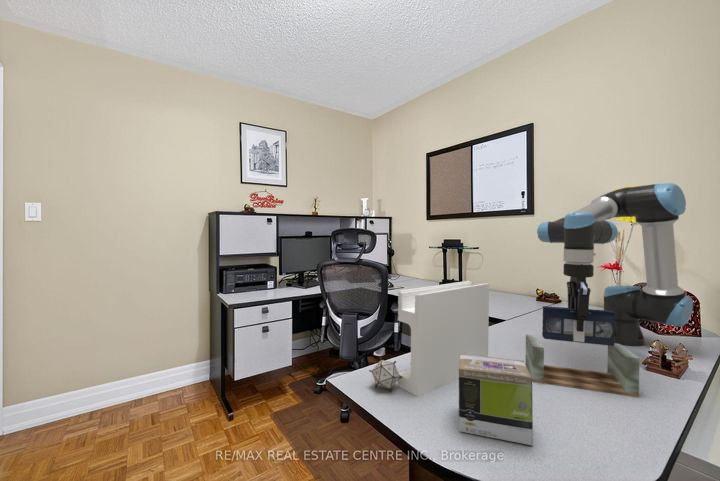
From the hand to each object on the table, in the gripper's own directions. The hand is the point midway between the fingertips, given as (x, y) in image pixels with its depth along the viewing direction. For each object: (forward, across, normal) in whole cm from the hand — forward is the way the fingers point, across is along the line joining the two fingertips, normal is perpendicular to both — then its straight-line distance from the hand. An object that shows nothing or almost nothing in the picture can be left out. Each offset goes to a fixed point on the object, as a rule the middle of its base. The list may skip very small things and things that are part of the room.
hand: (576, 339), depth 95 cm
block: (+13, -10, +38) cm, 41 cm away
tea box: (+13, -34, +26) cm, 45 cm away
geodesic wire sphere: (+13, -25, +54) cm, 61 cm away
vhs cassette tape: (+1, 0, 0) cm, 1 cm away
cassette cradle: (+13, 0, 0) cm, 13 cm away
